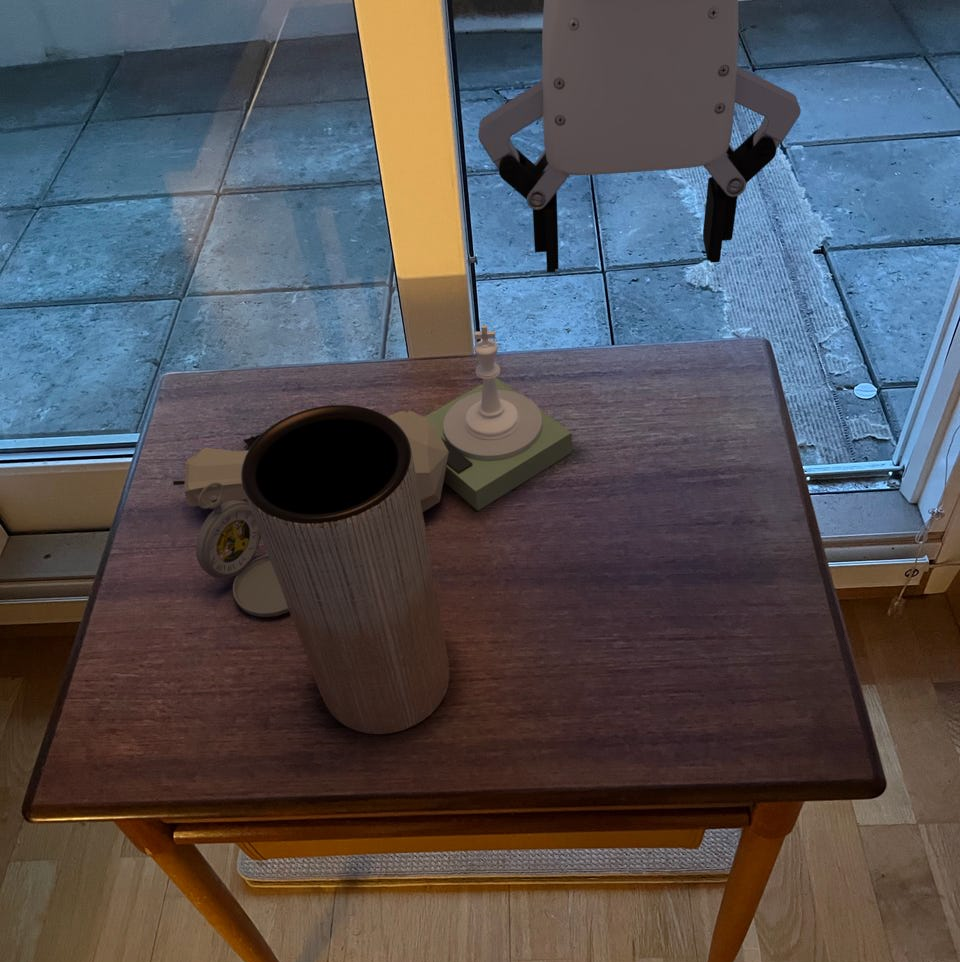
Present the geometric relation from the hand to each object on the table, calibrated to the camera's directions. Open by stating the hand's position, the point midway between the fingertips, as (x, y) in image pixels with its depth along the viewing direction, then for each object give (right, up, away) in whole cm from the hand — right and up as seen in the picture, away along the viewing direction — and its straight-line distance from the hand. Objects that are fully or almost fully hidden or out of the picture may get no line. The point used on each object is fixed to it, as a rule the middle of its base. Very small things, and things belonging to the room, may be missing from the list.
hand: (631, 255), depth 58 cm
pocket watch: (-27, -19, +22) cm, 40 cm away
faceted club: (-24, -11, +28) cm, 38 cm away
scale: (-9, -6, +30) cm, 32 cm away
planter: (-16, -27, +15) cm, 35 cm away
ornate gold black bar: (-28, -4, +33) cm, 44 cm away
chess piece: (-8, -4, +28) cm, 29 cm away
